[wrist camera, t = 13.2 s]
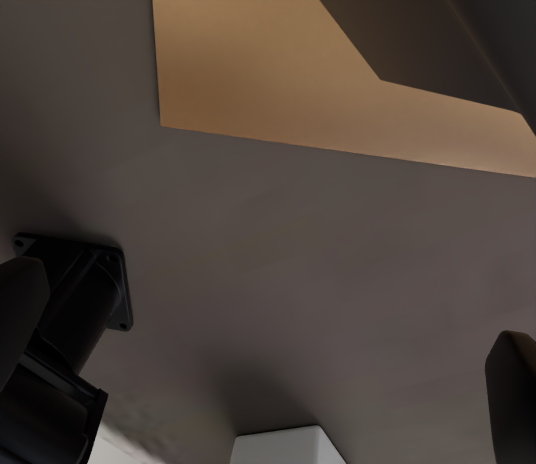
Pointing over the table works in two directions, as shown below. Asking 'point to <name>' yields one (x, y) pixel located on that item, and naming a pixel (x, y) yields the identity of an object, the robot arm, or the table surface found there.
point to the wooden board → (315, 89)
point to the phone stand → (449, 47)
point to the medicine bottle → (286, 448)
